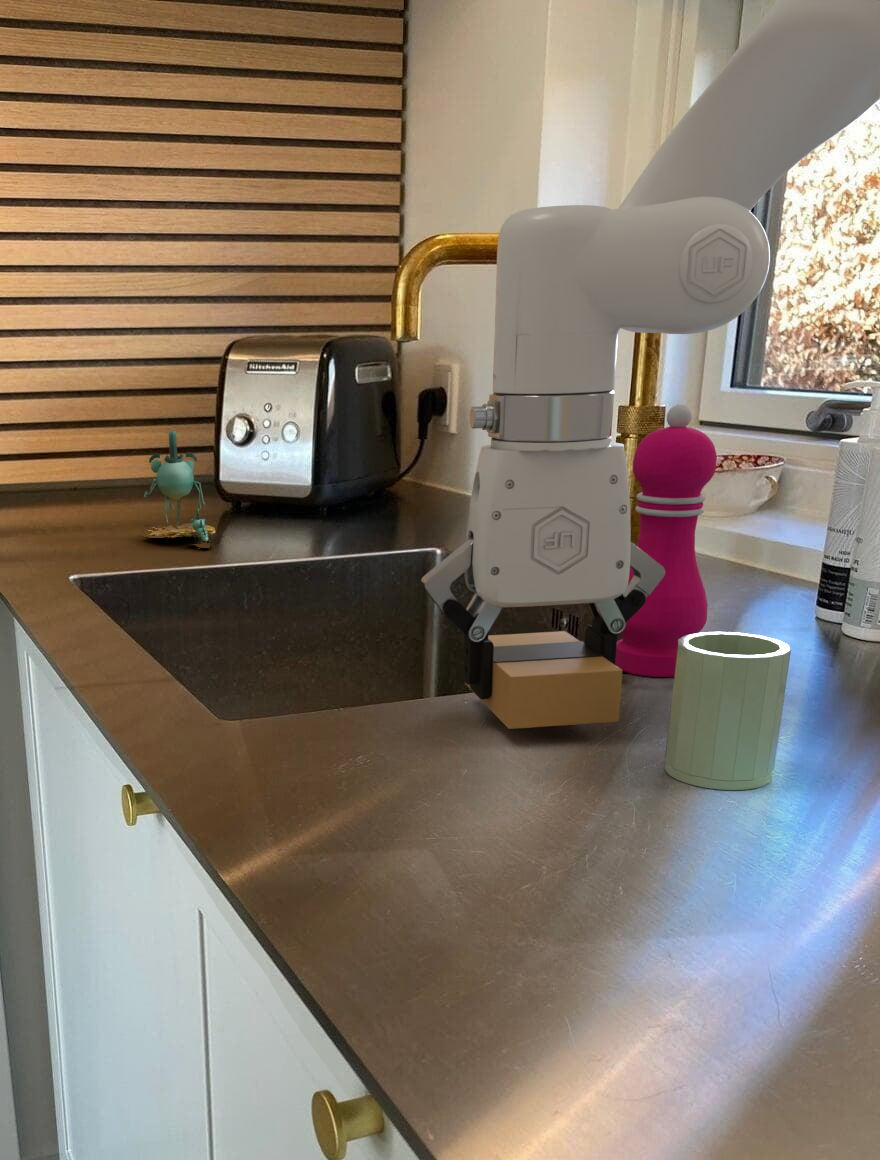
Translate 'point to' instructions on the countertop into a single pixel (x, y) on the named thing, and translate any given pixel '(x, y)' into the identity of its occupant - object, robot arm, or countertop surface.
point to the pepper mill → (668, 543)
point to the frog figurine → (177, 491)
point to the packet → (551, 681)
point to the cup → (726, 709)
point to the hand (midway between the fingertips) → (538, 688)
